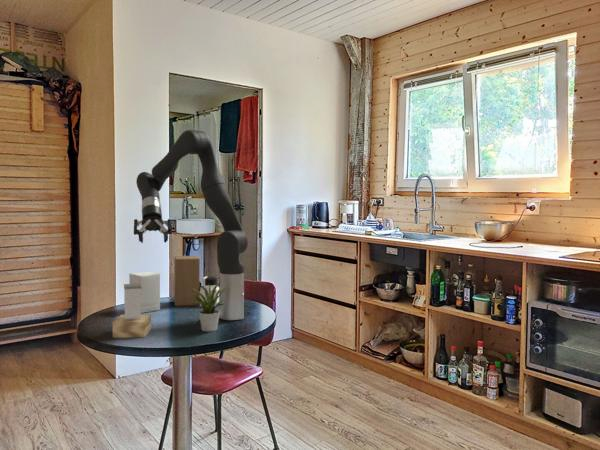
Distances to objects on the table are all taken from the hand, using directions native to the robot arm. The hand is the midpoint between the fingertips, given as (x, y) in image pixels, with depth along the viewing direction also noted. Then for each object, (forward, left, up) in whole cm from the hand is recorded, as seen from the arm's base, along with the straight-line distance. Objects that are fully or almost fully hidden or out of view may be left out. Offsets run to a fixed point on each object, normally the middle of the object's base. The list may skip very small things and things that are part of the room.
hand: (153, 241), depth 178 cm
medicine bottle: (-20, -18, -29) cm, 39 cm away
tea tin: (+2, +24, -24) cm, 33 cm away
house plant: (-24, +20, -29) cm, 42 cm away
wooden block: (-10, -21, -29) cm, 37 cm away
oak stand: (+2, +24, -29) cm, 37 cm away
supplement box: (+5, -9, -29) cm, 31 cm away
